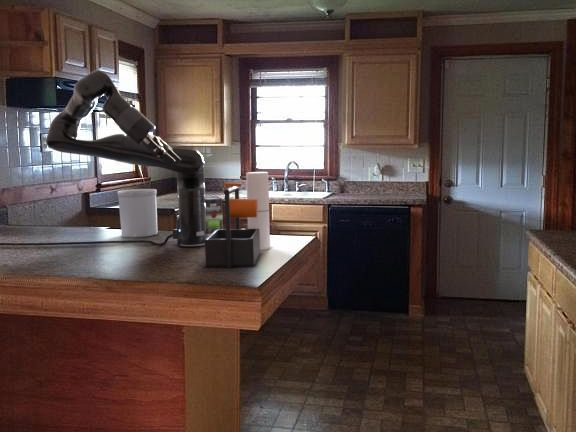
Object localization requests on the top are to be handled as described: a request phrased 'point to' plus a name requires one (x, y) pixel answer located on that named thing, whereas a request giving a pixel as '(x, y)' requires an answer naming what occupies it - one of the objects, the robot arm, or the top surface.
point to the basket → (232, 242)
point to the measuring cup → (242, 204)
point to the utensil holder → (138, 212)
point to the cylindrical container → (259, 205)
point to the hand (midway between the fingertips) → (176, 163)
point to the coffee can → (213, 214)
